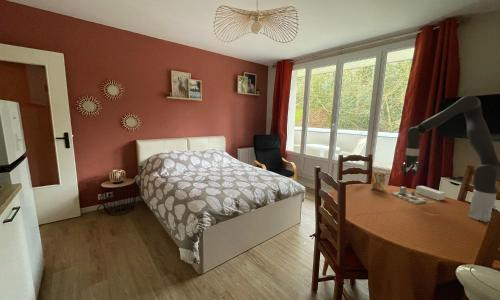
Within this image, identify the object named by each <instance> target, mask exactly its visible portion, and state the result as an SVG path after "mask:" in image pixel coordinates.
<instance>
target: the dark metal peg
mask: <svg viewBox="0 0 500 300" xmlns="http://www.w3.org/2000/svg"><path fill="white" fill-rule="evenodd" d="M407 189H408V188H407V187H406V186H400V187H399V192H400V193H399V195H402V196H406V192H408V191H407Z"/></svg>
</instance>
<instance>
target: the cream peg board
mask: <svg viewBox="0 0 500 300" xmlns="http://www.w3.org/2000/svg"><path fill="white" fill-rule="evenodd" d="M399 193H400V191H395V192H393V191H392V192H391V193H390V194H391V195H392V196H393V197H396V198H398V199H402V200H404V201H405V202H408V203H411V204H413V205H417V204H425V203H427V202H426V200H423V199H421V198H418V197H415V196H413V195H410V194H407V193H406V196H402V195H399Z"/></svg>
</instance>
